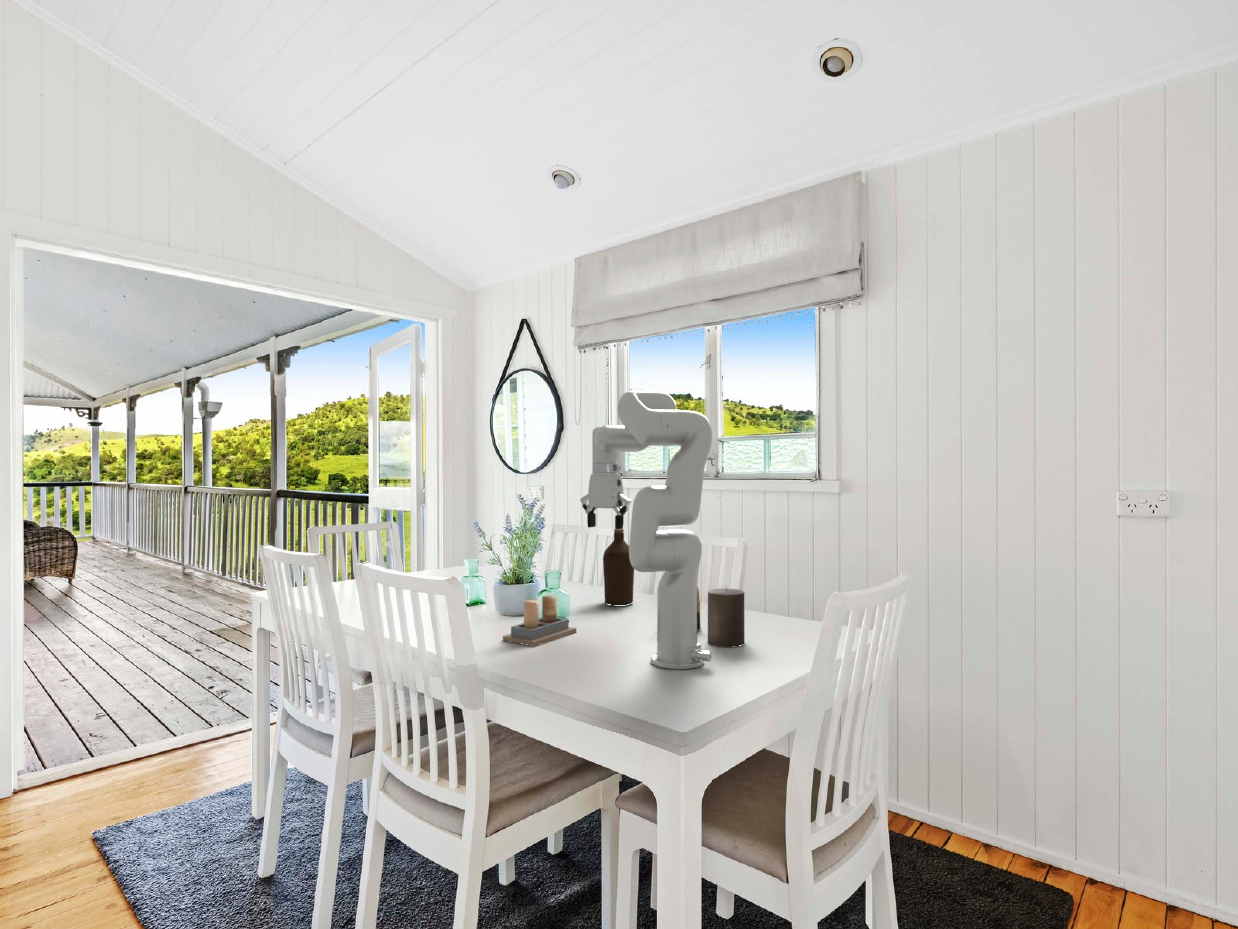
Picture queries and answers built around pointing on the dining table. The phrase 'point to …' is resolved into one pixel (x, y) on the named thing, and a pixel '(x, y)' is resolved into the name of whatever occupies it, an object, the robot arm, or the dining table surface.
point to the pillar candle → (726, 617)
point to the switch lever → (549, 609)
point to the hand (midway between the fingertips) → (605, 527)
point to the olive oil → (618, 571)
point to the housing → (537, 627)
